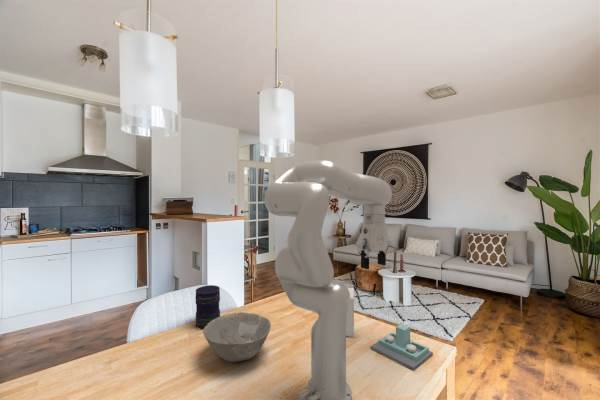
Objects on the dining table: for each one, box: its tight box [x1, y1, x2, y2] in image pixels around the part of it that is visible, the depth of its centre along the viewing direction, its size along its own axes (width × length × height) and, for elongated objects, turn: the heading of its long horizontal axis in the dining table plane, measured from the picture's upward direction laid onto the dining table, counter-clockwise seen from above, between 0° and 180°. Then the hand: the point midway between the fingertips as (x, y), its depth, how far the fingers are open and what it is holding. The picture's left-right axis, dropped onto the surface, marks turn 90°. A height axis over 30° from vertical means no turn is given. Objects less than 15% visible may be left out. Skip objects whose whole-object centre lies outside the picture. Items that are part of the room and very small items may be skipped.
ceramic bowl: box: [202, 312, 272, 363], centre depth 94 cm, size 22×23×10 cm
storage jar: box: [194, 285, 221, 330], centre depth 117 cm, size 10×10×15 cm
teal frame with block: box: [378, 323, 430, 361], centre depth 97 cm, size 9×14×7 cm, turn 40°
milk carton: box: [344, 284, 355, 338], centre depth 110 cm, size 7×7×19 cm
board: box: [369, 334, 434, 372], centre depth 96 cm, size 13×16×4 cm
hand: (373, 266), depth 100 cm, fingers open, 9 cm apart
